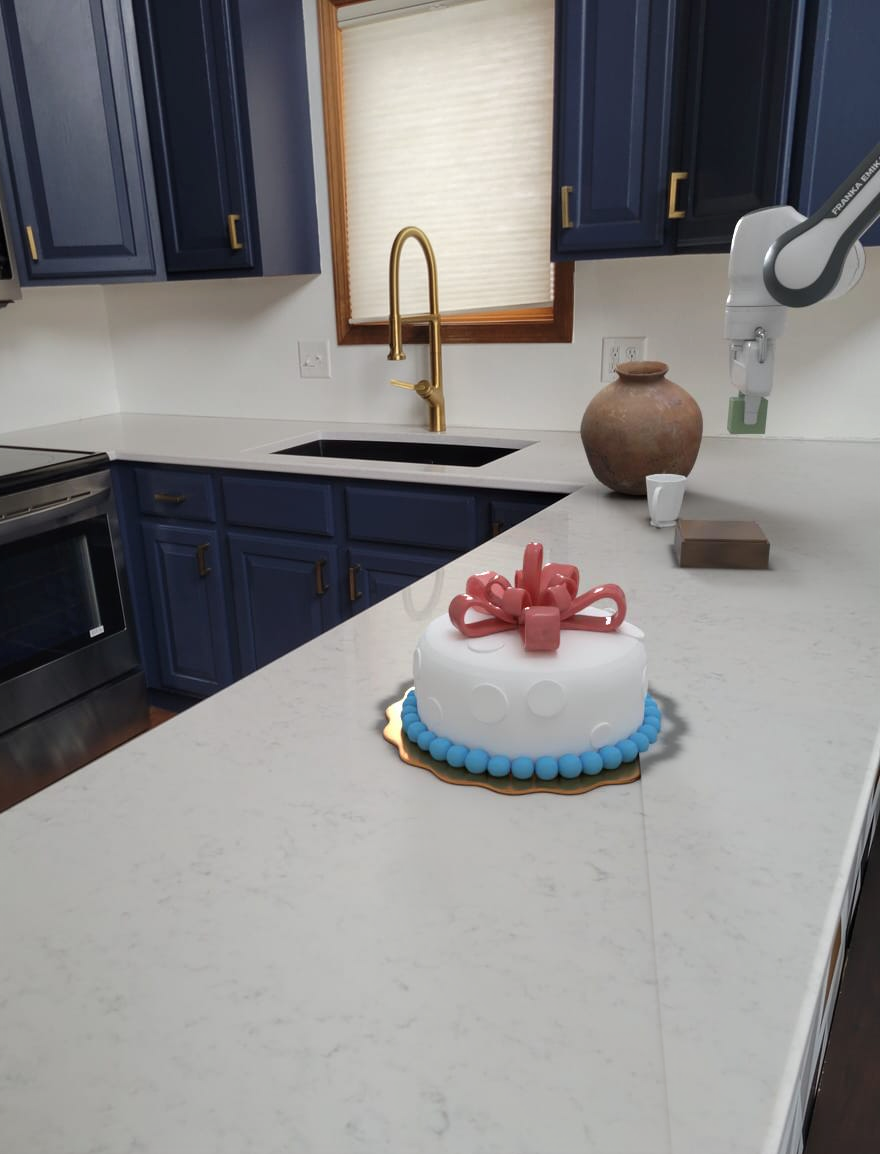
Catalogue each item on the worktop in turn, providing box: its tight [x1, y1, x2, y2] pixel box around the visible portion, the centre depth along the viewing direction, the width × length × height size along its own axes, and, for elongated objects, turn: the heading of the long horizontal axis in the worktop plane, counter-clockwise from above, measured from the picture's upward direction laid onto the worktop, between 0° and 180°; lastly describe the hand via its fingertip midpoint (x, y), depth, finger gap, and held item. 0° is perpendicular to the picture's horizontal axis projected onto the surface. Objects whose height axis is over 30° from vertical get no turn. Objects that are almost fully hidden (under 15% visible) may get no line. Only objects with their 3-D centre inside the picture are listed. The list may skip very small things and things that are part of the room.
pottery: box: [579, 360, 704, 496], centre depth 185 cm, size 23×23×25 cm
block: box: [726, 396, 769, 435], centre depth 147 cm, size 5×5×5 cm
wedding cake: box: [382, 541, 663, 795], centre depth 89 cm, size 28×28×18 cm
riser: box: [672, 519, 771, 570], centre depth 141 cm, size 12×12×5 cm
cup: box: [646, 474, 688, 528], centre depth 162 cm, size 7×10×8 cm
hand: (746, 421), depth 147 cm, fingers closed on block, 5 cm apart
